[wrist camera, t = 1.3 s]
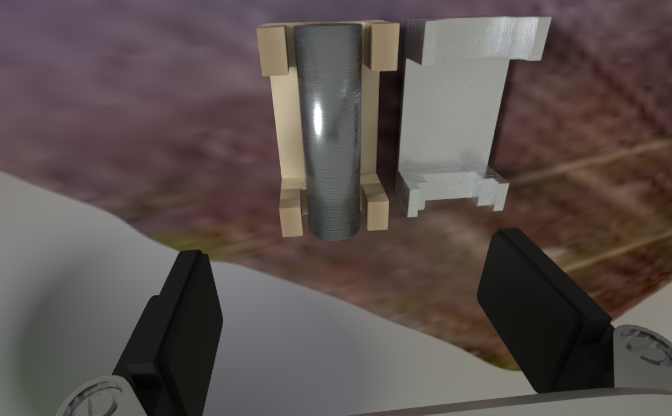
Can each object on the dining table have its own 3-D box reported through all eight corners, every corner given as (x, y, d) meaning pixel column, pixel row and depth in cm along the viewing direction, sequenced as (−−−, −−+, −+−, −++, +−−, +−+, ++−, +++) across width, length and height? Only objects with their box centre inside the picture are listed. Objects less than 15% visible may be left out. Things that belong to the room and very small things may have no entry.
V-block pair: (513, 15, 25) (551, 16, 22) (478, 186, 32) (502, 210, 29) (405, 18, 25) (425, 21, 21) (394, 191, 32) (407, 217, 28)
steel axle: (356, 22, 22) (367, 25, 19) (356, 211, 29) (363, 238, 26) (293, 24, 22) (292, 27, 18) (308, 214, 29) (309, 242, 25)
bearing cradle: (378, 19, 25) (399, 23, 20) (373, 193, 32) (387, 229, 27) (265, 23, 24) (256, 28, 19) (285, 198, 31) (282, 237, 26)
